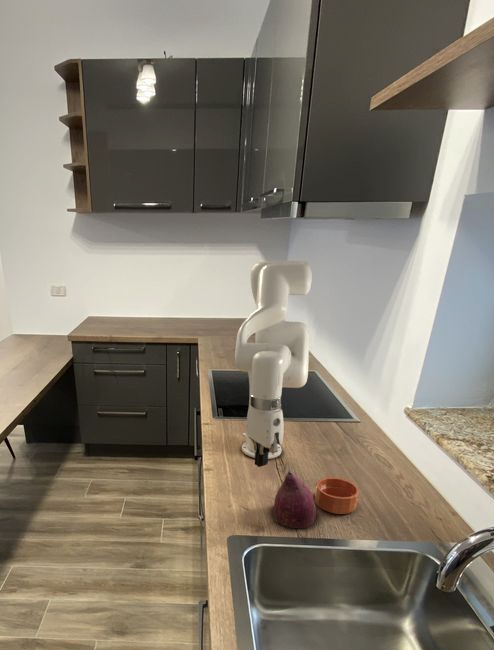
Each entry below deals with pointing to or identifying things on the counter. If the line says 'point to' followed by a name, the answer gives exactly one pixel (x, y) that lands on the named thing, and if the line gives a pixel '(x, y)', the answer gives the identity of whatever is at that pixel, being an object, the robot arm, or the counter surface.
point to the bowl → (336, 495)
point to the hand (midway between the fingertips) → (261, 464)
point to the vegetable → (294, 503)
